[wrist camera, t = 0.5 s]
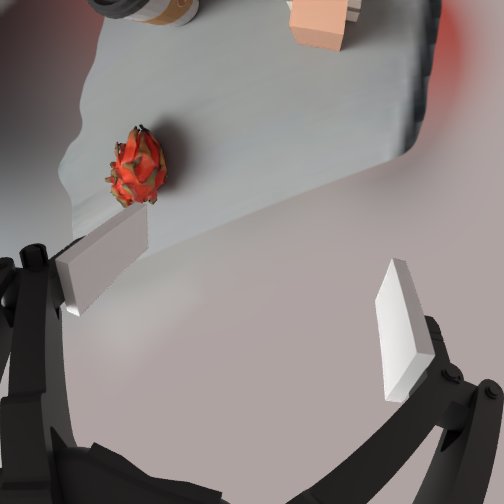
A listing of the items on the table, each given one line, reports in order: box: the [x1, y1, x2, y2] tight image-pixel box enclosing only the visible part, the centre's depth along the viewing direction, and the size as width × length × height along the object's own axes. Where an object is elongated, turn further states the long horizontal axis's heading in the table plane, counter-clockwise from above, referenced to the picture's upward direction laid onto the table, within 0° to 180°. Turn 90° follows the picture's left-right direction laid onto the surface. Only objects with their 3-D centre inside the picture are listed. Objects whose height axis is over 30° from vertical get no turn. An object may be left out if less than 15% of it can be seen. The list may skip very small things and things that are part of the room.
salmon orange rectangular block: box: [289, 0, 348, 51], centre depth 27 cm, size 4×5×10 cm
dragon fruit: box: [105, 124, 168, 208], centre depth 41 cm, size 8×8×12 cm
